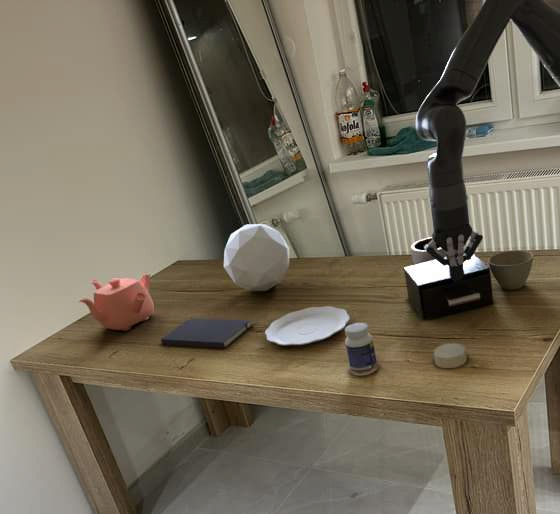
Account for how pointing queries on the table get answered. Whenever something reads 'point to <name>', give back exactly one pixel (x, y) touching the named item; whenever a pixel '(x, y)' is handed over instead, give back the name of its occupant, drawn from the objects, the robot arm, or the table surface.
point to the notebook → (206, 332)
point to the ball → (256, 257)
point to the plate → (307, 325)
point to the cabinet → (436, 278)
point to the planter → (424, 252)
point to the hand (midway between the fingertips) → (457, 279)
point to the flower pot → (511, 268)
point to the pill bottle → (360, 349)
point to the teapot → (121, 302)
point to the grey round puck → (450, 355)
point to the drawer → (457, 295)
